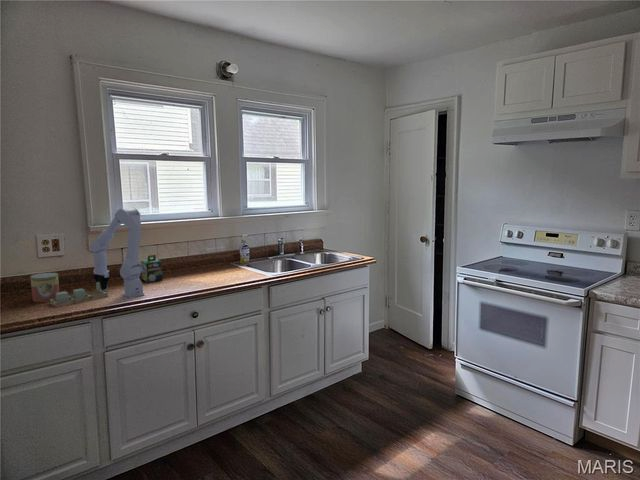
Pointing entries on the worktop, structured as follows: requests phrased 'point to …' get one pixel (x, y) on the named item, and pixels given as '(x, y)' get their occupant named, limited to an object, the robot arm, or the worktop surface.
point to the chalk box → (151, 269)
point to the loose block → (100, 287)
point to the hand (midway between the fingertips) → (102, 288)
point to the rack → (88, 297)
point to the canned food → (44, 286)
